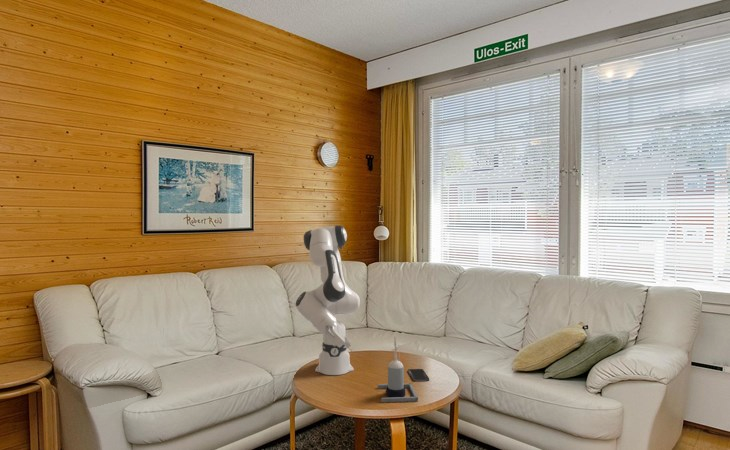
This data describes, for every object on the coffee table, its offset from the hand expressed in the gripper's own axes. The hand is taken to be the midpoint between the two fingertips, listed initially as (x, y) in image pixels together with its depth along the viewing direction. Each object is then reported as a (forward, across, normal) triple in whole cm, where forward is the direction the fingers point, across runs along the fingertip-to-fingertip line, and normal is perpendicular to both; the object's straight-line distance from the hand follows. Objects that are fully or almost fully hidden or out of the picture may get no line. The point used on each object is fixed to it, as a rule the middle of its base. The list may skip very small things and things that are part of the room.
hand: (349, 345), depth 194 cm
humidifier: (+29, -2, +1) cm, 29 cm away
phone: (+40, +20, -9) cm, 45 cm away
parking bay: (+29, -2, +1) cm, 29 cm away
